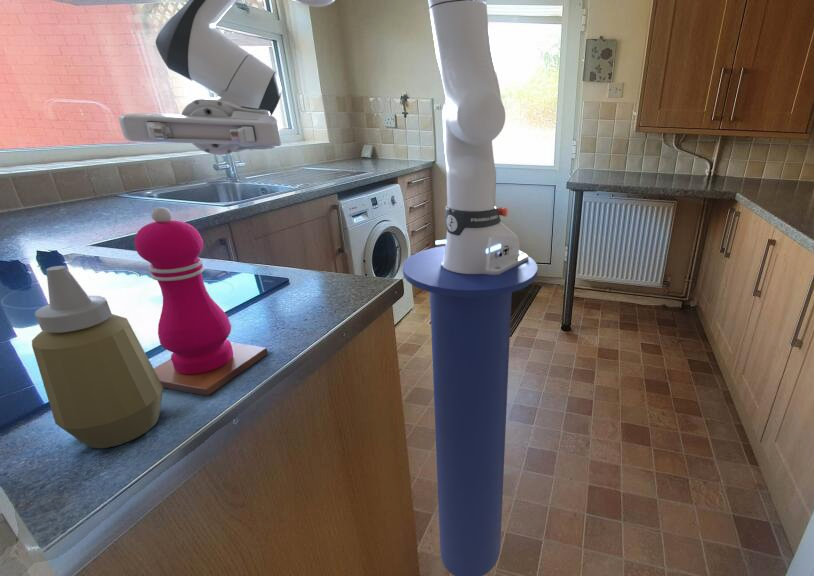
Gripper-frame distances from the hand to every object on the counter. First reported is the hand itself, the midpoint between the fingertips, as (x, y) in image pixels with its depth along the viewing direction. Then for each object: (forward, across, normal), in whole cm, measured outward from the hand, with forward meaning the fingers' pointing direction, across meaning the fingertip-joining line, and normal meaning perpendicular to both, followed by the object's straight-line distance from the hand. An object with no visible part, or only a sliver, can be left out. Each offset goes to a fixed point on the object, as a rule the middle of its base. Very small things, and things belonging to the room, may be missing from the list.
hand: (197, 134), depth 58 cm
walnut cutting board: (+20, -1, +27) cm, 33 cm away
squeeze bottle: (+30, -6, +27) cm, 40 cm away
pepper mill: (+20, -1, +26) cm, 33 cm away
